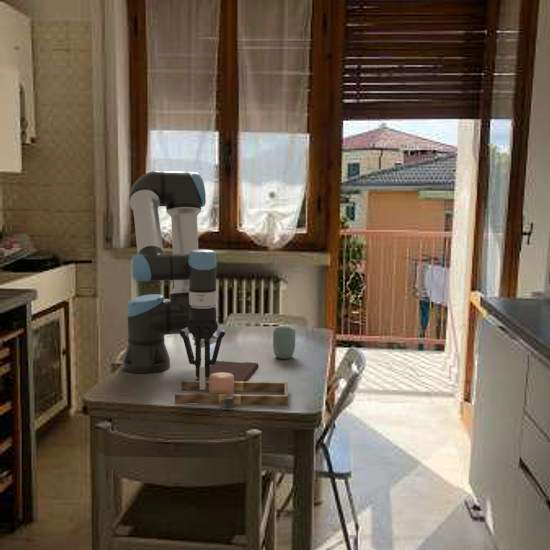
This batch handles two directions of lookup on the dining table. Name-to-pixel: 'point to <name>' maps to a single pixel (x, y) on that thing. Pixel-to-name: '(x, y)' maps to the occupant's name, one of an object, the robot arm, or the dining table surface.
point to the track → (236, 398)
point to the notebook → (233, 370)
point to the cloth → (212, 340)
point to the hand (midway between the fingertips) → (202, 387)
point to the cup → (283, 342)
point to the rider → (221, 383)
